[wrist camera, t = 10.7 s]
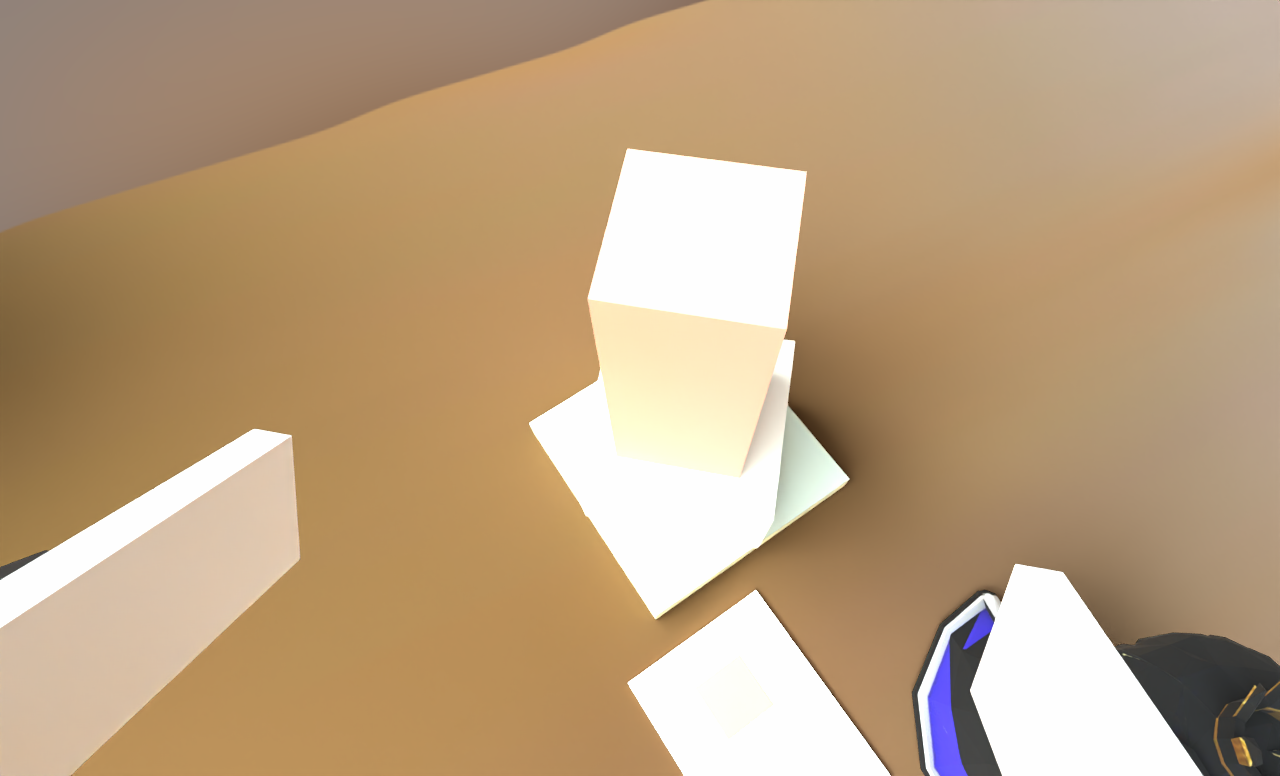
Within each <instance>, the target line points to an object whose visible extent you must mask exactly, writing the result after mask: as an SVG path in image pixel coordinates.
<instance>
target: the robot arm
mask: <svg viewBox="0 0 1280 776" xmlns="http://www.w3.org/2000/svg"><path fill="white" fill-rule="evenodd" d="M299 560H300V547H299V532H298V518H297V503H296V489H295V475H294V460H293V446H292V435H286V434H280V433H275V432H269V431H263V430H258V429H253V430H251V431H250V432H248V433H246V434H245V435H243V436H241V437H240V438H238V439H236V440H235V441H233V442H231V443H230V444H228V445H226V446H225V447H223V448H221V449H220V450H218V451H216V452H214V453H213V454H211V455H209V456H208V457H206V458H204V459H203V460H201V461H199V462H198V463H196V464H194V465H193V466H191V467H189V468H188V469H186V470H184V471H183V472H181V473H179V474H178V475H176V476H174V477H173V478H171V479H169V480H168V481H166V482H164V483H163V484H161V485H159V486H158V487H156V488H154V489H152V490H151V491H149V492H147V493H146V494H144V495H142V496H141V497H139V498H137V499H136V500H134V501H132V502H131V503H129V504H127V505H126V506H124V507H122V508H121V509H119V510H117V511H116V512H114V513H112V514H111V515H109V516H107V517H106V518H104V519H102V520H101V521H99V522H97V523H95V524H94V525H92V526H90V527H89V528H87V529H85V530H84V531H82V532H80V533H79V534H77V535H75V536H74V537H72V538H70V539H69V540H67V541H65V542H64V543H62V544H60V545H59V546H57V547H55V548H54V549H52V550H50V551H47V550H45V551H42V552H39V553H37V554H34V555H31V556H29V557H26V558H23V559H21V560H18V561H15V562H12V563H10V564H7V565H4V566H2V567H0V776H70V775H72V774H73V773H74V772H75V771H76V770H77V769H78V768H79V767H80V766H81V765H82V764H83V763H84V762H85V761H86V760H87V759H89V758H90V757H91V756H92V755H93V754H94V753H95V752H96V751H97V750H98V749H99V748H100V747H101V746H102V745H103V744H104V743H106V742H107V741H108V740H109V739H110V738H111V737H112V736H113V735H114V734H115V733H116V732H117V731H118V730H119V729H120V728H121V727H123V726H124V725H125V724H126V723H127V722H128V721H129V720H130V719H131V718H132V717H133V716H134V715H135V714H136V713H137V712H138V711H139V710H141V709H142V708H143V707H144V706H145V705H146V704H147V703H148V702H149V701H150V700H151V699H152V698H153V697H154V696H155V695H156V694H158V693H159V692H160V691H161V690H162V689H163V688H164V687H165V686H166V685H167V684H168V683H169V682H170V681H171V680H172V679H173V678H175V677H176V676H177V675H178V674H179V673H180V672H181V671H182V670H183V669H184V668H185V667H186V666H187V665H188V664H189V663H190V662H192V661H193V660H194V659H195V658H196V657H197V656H198V655H199V654H200V653H201V652H202V651H203V650H204V649H205V648H206V647H207V646H209V645H210V644H211V643H212V642H213V641H214V640H215V639H216V638H217V637H218V636H219V635H220V634H221V633H222V632H223V631H224V630H226V629H227V628H228V627H229V626H230V625H231V624H232V623H233V622H234V621H235V620H236V619H237V618H238V617H239V616H240V615H241V614H242V613H244V612H245V611H246V610H247V609H248V608H249V607H250V606H251V605H252V604H253V603H254V602H255V601H256V600H257V599H258V598H259V597H261V596H262V595H263V594H264V593H265V592H266V591H267V590H268V589H269V588H270V587H271V586H272V585H273V584H274V583H275V582H276V581H278V580H279V579H280V578H281V577H282V576H283V575H284V574H285V573H286V572H287V571H288V570H289V569H290V568H291V567H292V566H293V565H295V564H296V563H297V562H298V561H299ZM970 691H971V694H972V697H973V699H974V702H975V704H976V707H977V710H978V712H979V715H980V718H981V720H982V723H983V726H984V728H985V731H986V733H987V736H988V739H989V741H990V744H991V747H992V749H993V752H994V755H995V757H996V760H997V763H998V765H999V768H1000V770H1001V773H1002V776H1203V775H1202V774H1201V772H1200V771H1199V769H1198V768H1197V766H1196V765H1195V764H1194V762H1193V761H1192V759H1191V758H1190V756H1189V755H1188V753H1187V752H1186V750H1185V749H1184V748H1183V746H1182V745H1181V743H1180V742H1179V740H1178V739H1177V737H1176V736H1175V734H1174V733H1173V732H1172V730H1171V729H1170V727H1169V726H1168V724H1167V723H1166V721H1165V720H1164V718H1163V717H1162V716H1161V714H1160V713H1159V711H1158V710H1157V708H1156V707H1155V705H1154V704H1153V703H1152V701H1151V700H1150V698H1149V697H1148V695H1147V694H1146V692H1145V691H1144V689H1143V688H1142V687H1141V685H1140V684H1139V682H1138V681H1137V679H1136V678H1135V676H1134V675H1133V673H1132V672H1131V671H1130V669H1129V668H1128V666H1127V665H1126V663H1125V662H1124V660H1123V659H1122V657H1121V656H1120V655H1119V653H1118V652H1117V650H1116V649H1115V647H1114V646H1113V644H1112V643H1111V641H1110V640H1109V639H1108V637H1107V636H1106V634H1105V633H1104V631H1103V630H1102V628H1101V627H1100V626H1099V624H1098V623H1097V621H1096V620H1095V618H1094V617H1093V615H1092V614H1091V612H1090V611H1089V610H1088V608H1087V607H1086V605H1085V604H1084V602H1083V601H1082V599H1081V598H1080V596H1079V595H1078V594H1077V592H1076V591H1075V589H1074V588H1073V586H1072V585H1071V583H1070V582H1069V580H1068V579H1067V578H1066V576H1065V575H1064V573H1063V572H1059V571H1053V570H1048V569H1042V568H1036V567H1031V566H1025V565H1019V564H1015V566H1014V569H1013V572H1012V575H1011V578H1010V580H1009V583H1008V586H1007V589H1006V592H1005V595H1004V597H1003V600H1002V603H1001V606H1000V609H999V611H998V614H997V617H996V620H995V623H994V625H993V628H992V631H991V634H990V637H989V639H988V642H987V645H986V648H985V651H984V653H983V656H982V659H981V662H980V665H979V667H978V670H977V673H976V676H975V679H974V681H973V684H972V687H971V690H970Z"/></svg>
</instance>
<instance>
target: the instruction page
mask: <svg viewBox="0 0 1280 776" xmlns="http://www.w3.org/2000/svg"><path fill="white" fill-rule="evenodd" d="M628 685H629V686H630V688H631V689H632V691H633V693H634V694H635V696H636V698H637V699H638V701H639V702H640V704H641V706H642V707H643V709H644V711H645V712H646V714H647V715H648V717H649V719H650V720H651V722H652V724H653V725H654V727H655V729H656V730H657V732H658V733H659V735H660V737H661V738H662V740H663V742H664V743H665V745H666V746H667V748H668V750H669V751H670V753H671V755H672V756H673V758H674V760H675V761H676V763H677V764H678V766H679V768H680V769H681V771H682V773H683V774H684V776H891V775H890V774H889V773H888V771H887V770H886V769H885V767H884V766H883V764H882V763H881V762H880V760H879V759H878V758H877V756H876V755H875V753H874V752H873V751H872V749H871V748H870V746H869V745H868V744H867V742H866V741H865V740H864V738H863V737H862V735H861V734H860V733H859V731H858V730H857V729H856V727H855V726H854V724H853V723H852V722H851V720H850V719H849V717H848V716H847V715H846V713H845V712H844V711H843V709H842V708H841V706H840V705H839V704H838V702H837V701H836V700H835V698H834V697H833V695H832V694H831V693H830V691H829V690H828V689H827V687H826V686H825V684H824V683H823V682H822V680H821V679H820V677H819V676H818V675H817V673H816V672H815V671H814V669H813V668H812V666H811V665H810V664H809V662H808V661H807V660H806V658H805V657H804V655H803V654H802V653H801V651H800V650H799V648H798V647H797V646H796V644H795V643H794V642H793V640H792V639H791V637H790V636H789V635H788V633H787V632H786V631H785V629H784V628H783V626H782V625H781V624H780V622H779V621H778V619H777V618H776V617H775V615H774V614H773V613H772V611H771V610H770V608H769V607H768V606H767V604H766V603H765V602H764V600H763V599H762V597H761V596H760V595H759V593H758V592H757V591H756V590H755V591H754V592H752V593H751V594H750V595H748V596H747V597H746V598H744V599H743V600H741V601H740V602H739V603H737V604H736V605H735V606H733V607H732V608H730V609H729V610H728V611H726V612H725V613H723V614H722V615H721V616H719V617H718V618H717V619H715V620H714V621H712V622H711V623H710V624H708V625H707V626H706V627H704V628H703V629H701V630H700V631H699V632H697V633H696V634H694V635H693V636H692V637H690V638H689V639H688V640H686V641H685V642H683V643H682V644H681V645H679V646H678V647H677V648H675V649H674V650H672V651H671V652H670V653H668V654H667V655H665V656H664V657H663V658H661V659H660V660H659V661H657V662H656V663H654V664H653V665H652V666H650V667H649V668H648V669H646V670H645V671H643V672H642V673H641V674H639V675H638V676H636V677H635V678H634V679H632V680H631V681H630V682H628Z"/></svg>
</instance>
